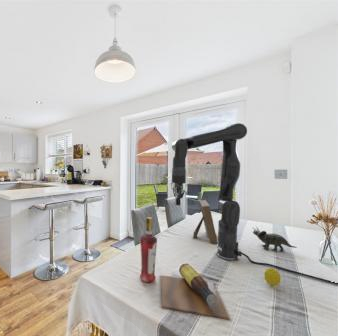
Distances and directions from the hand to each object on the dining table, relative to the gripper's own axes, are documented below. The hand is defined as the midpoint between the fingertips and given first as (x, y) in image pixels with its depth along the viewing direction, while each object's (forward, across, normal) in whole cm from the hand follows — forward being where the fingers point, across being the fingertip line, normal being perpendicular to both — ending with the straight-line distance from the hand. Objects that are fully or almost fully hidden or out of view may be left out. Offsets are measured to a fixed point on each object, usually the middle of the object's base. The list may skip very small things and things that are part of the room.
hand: (177, 205), depth 111 cm
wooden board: (+29, -33, +7) cm, 45 cm away
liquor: (+29, -23, +22) cm, 43 cm away
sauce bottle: (+25, -21, +4) cm, 33 cm away
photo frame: (+29, +28, -30) cm, 51 cm away
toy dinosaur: (+29, +8, -64) cm, 71 cm away
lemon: (+29, -28, -32) cm, 52 cm away
